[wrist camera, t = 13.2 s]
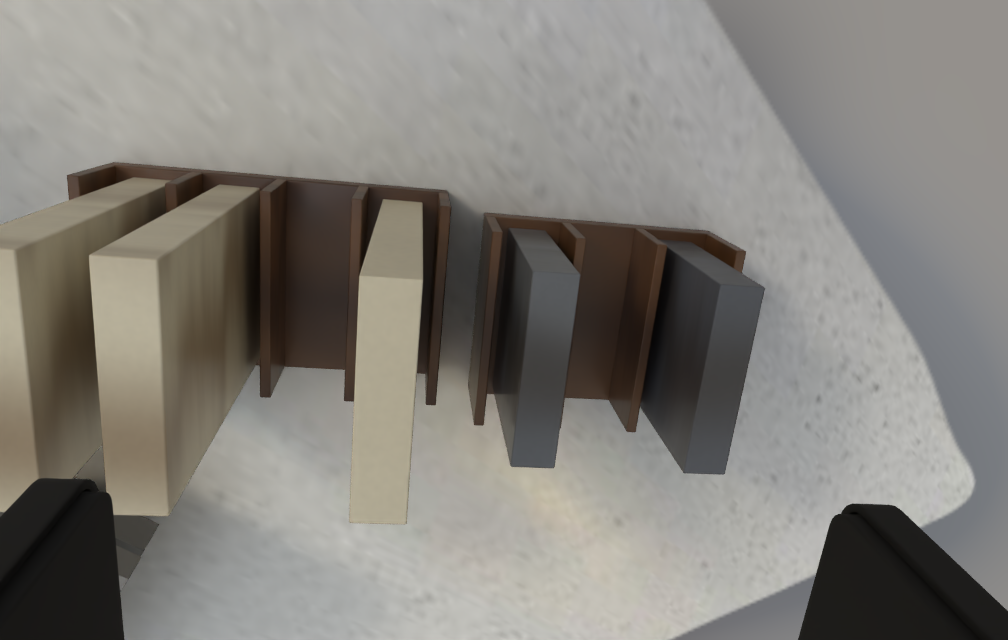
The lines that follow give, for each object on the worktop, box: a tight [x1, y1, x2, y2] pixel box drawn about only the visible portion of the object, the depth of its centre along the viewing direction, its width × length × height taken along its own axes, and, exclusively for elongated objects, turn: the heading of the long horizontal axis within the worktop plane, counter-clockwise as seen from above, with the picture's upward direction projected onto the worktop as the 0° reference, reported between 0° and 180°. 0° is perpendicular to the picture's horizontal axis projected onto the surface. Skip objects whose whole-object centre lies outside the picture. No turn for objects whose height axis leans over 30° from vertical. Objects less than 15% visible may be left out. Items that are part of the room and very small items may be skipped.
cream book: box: [349, 199, 423, 524], centre depth 32 cm, size 9×2×15 cm, turn 174°
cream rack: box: [0, 162, 451, 516], centre depth 31 cm, size 10×16×16 cm, turn 84°
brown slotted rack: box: [468, 213, 765, 474], centre depth 37 cm, size 10×12×10 cm
